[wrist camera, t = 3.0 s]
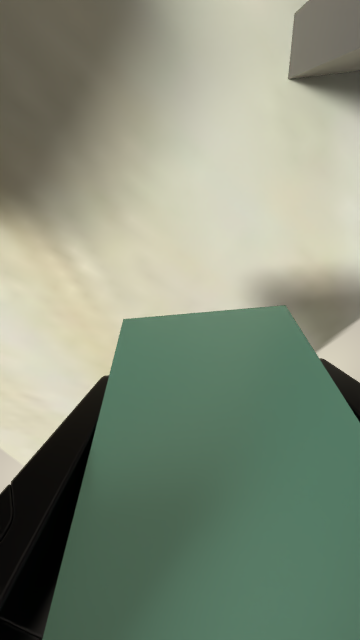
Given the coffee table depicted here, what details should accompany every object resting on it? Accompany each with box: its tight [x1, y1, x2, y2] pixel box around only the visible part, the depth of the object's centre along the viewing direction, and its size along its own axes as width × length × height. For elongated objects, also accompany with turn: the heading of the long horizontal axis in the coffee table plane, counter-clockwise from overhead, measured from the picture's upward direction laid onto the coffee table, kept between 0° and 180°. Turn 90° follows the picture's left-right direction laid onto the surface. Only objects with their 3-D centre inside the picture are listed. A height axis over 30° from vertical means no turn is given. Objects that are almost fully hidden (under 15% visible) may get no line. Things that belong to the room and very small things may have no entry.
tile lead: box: [42, 305, 360, 640], centre depth 6 cm, size 2×6×9 cm, turn 95°
